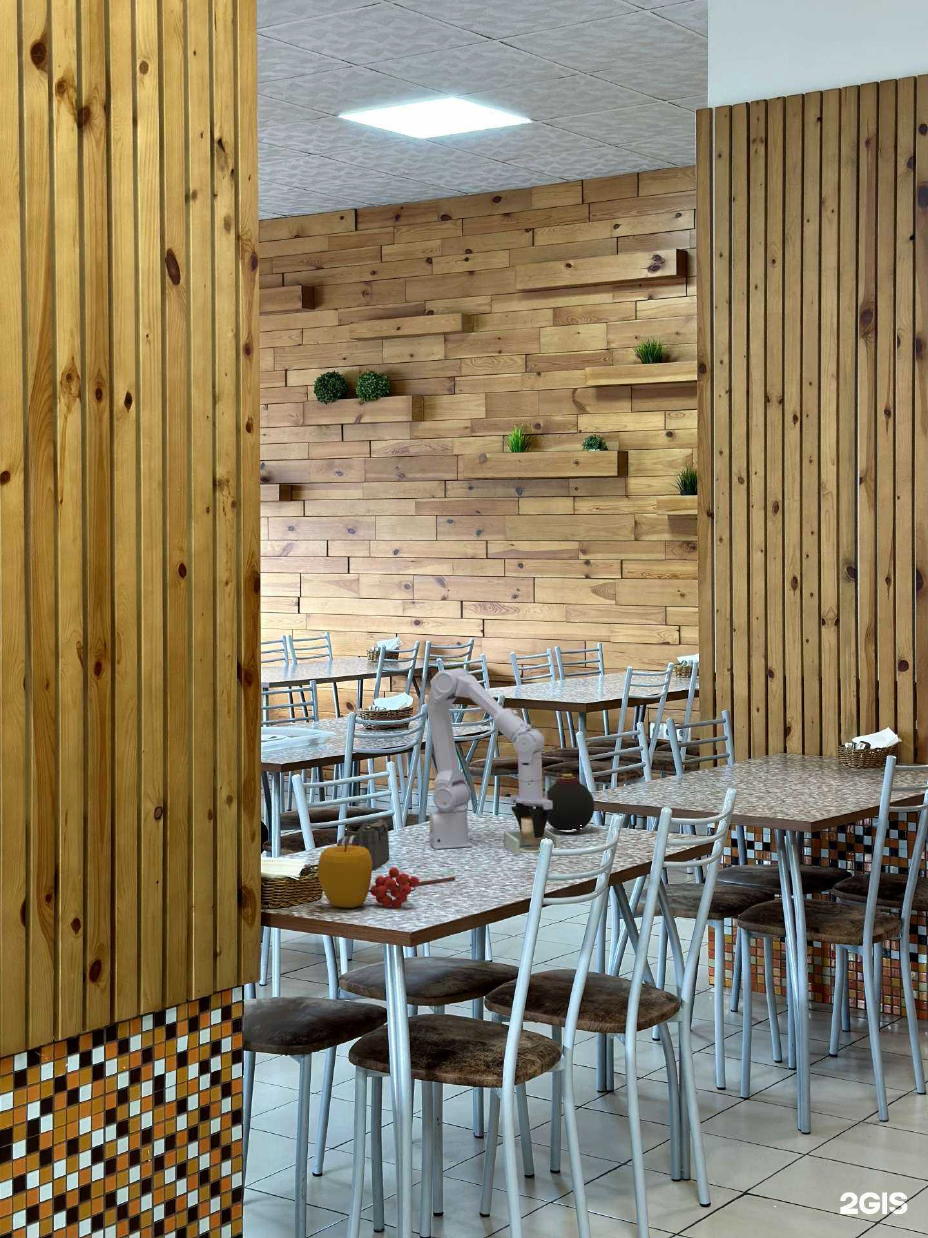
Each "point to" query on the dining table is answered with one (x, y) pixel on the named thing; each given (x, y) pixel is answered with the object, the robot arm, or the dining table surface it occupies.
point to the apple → (345, 875)
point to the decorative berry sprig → (398, 887)
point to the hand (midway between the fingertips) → (532, 836)
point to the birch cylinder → (528, 832)
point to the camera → (371, 841)
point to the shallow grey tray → (515, 840)
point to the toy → (569, 804)
